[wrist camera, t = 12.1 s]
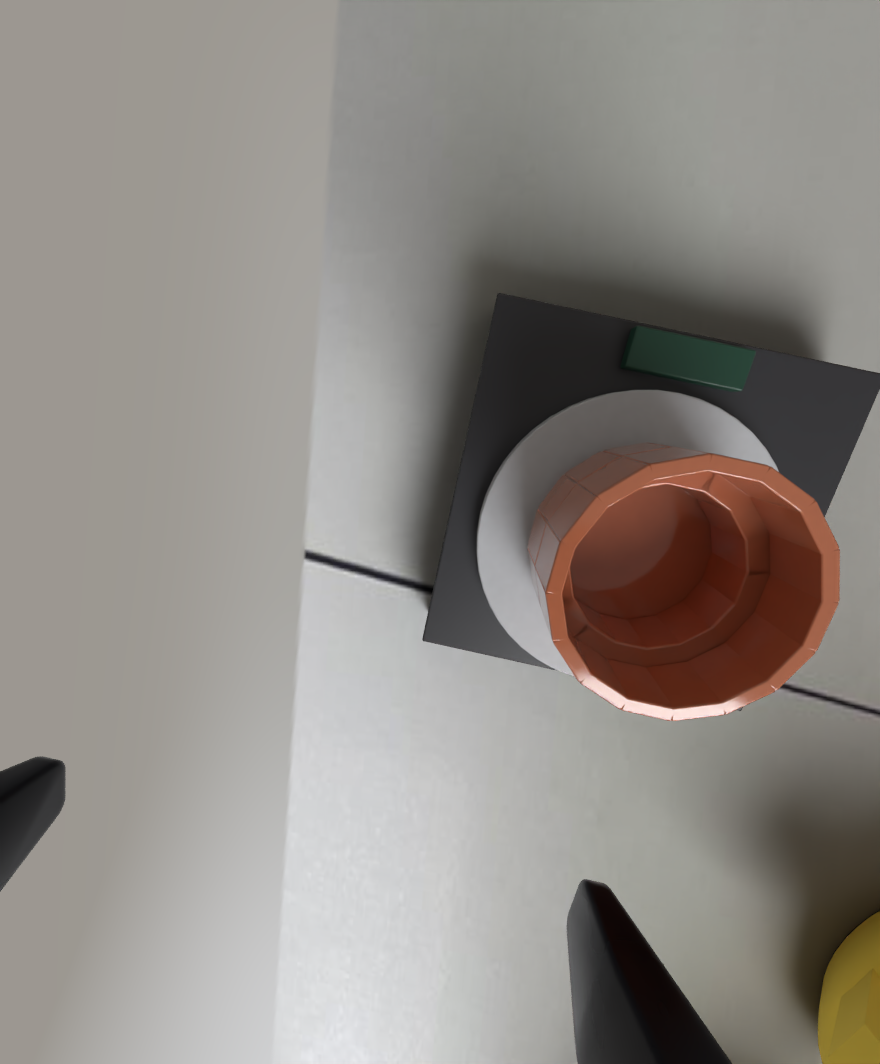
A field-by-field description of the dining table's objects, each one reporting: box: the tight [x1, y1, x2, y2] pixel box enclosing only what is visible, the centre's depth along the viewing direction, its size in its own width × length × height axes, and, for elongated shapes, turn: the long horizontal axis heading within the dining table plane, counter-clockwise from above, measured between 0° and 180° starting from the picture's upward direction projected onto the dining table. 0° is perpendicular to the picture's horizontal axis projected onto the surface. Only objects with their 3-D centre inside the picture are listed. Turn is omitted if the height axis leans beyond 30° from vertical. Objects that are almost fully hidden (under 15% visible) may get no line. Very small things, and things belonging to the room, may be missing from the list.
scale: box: [423, 293, 880, 711], centre depth 17 cm, size 12×12×3 cm
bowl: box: [527, 442, 840, 721], centre depth 13 cm, size 7×7×4 cm
